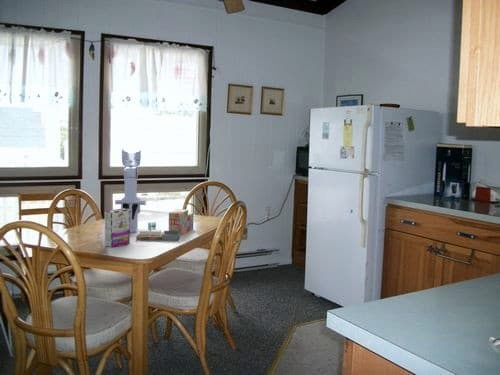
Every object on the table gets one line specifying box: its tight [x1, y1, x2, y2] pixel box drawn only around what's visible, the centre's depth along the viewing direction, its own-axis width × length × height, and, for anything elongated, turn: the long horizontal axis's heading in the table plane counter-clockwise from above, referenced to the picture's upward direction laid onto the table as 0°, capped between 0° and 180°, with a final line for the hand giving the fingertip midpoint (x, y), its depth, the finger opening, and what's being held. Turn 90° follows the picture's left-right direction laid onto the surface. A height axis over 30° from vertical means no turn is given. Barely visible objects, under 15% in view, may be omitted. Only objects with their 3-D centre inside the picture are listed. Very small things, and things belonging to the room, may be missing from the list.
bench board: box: [135, 231, 164, 242], centre depth 235 cm, size 12×11×2 cm
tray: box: [161, 230, 181, 242], centre depth 236 cm, size 8×10×3 cm
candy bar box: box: [104, 208, 131, 248], centre depth 218 cm, size 11×5×16 cm, turn 148°
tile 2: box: [150, 229, 162, 236], centre depth 235 cm, size 4×4×2 cm
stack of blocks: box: [168, 208, 194, 237], centre depth 252 cm, size 21×6×12 cm, turn 168°
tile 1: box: [138, 228, 151, 235], centre depth 235 cm, size 4×4×2 cm
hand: (130, 219), depth 234 cm, fingers closed
